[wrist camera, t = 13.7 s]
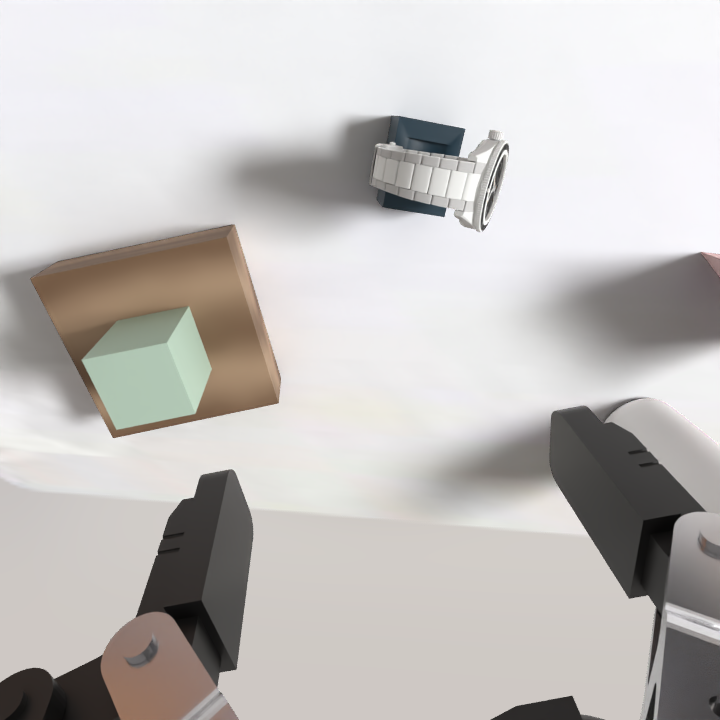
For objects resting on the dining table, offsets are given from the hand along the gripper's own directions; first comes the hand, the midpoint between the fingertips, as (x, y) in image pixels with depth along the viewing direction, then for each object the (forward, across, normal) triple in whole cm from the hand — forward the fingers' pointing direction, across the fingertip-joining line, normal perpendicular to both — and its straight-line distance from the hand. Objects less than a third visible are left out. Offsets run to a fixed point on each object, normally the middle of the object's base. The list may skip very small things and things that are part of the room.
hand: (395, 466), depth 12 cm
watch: (+27, -6, -3) cm, 28 cm away
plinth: (+27, +14, +6) cm, 30 cm away
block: (+23, +14, +5) cm, 27 cm away
